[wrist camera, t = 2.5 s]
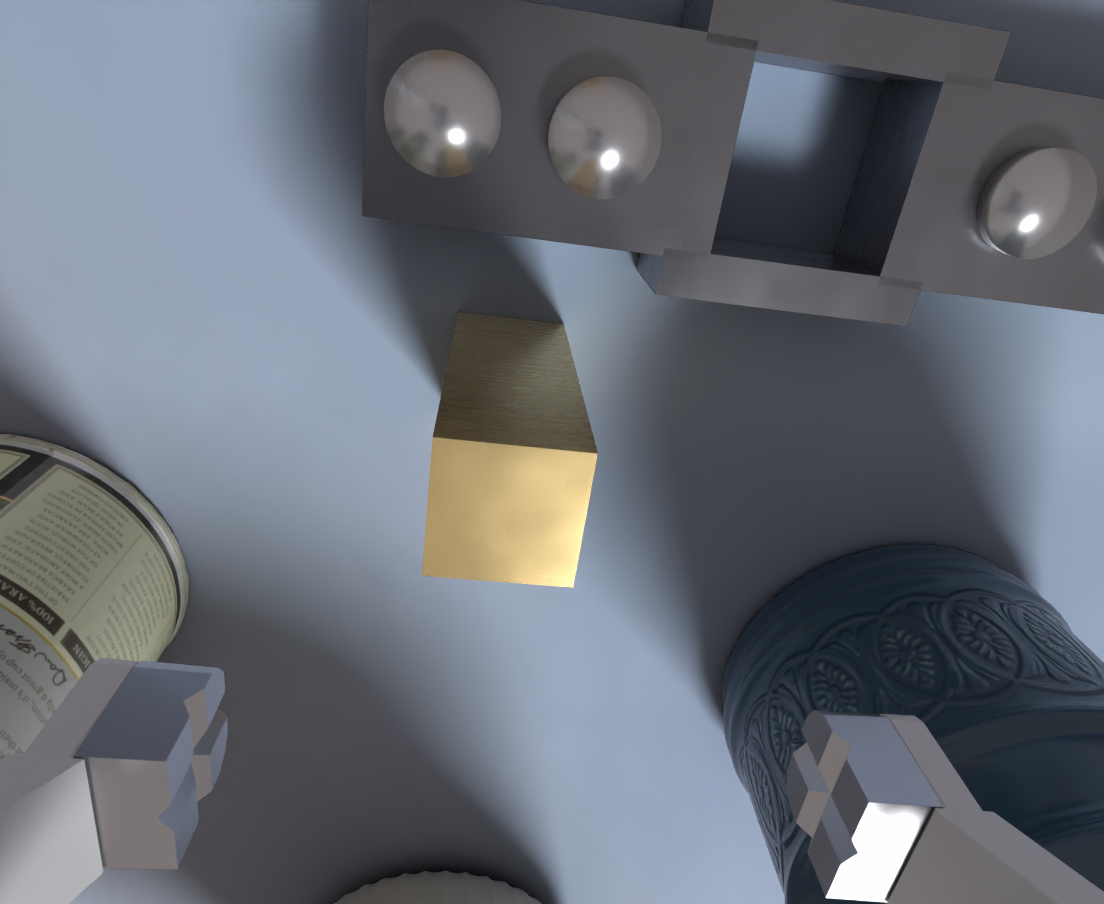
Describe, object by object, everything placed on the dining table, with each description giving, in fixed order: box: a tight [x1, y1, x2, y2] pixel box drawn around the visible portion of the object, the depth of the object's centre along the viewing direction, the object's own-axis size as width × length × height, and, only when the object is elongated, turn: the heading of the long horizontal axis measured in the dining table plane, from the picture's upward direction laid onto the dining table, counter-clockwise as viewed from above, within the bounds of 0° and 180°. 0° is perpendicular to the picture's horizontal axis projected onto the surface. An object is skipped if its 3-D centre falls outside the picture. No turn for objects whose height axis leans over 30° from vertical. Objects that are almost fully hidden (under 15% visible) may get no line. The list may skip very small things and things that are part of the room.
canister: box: [722, 545, 1104, 904], centre depth 22 cm, size 13×13×18 cm
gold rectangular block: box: [422, 311, 598, 588], centre depth 19 cm, size 3×3×9 cm
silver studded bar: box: [362, 0, 1104, 326], centre depth 19 cm, size 7×22×4 cm, turn 82°
